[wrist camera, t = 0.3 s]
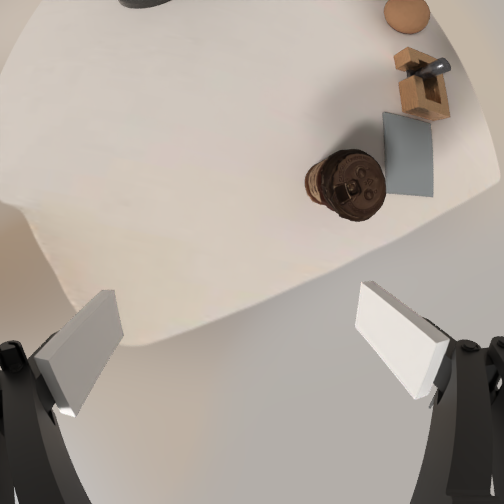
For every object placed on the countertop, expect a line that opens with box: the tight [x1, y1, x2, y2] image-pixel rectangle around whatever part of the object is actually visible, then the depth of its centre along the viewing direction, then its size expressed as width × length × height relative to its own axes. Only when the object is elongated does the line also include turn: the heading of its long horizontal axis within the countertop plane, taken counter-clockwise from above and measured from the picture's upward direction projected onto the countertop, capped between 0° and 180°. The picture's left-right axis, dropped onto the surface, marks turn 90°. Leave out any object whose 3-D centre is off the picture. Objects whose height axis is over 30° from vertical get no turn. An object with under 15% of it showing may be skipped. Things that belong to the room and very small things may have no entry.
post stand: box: [406, 58, 451, 81], centre depth 31 cm, size 3×3×10 cm
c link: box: [394, 47, 450, 121], centre depth 34 cm, size 12×8×5 cm, turn 1°
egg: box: [384, 0, 430, 34], centre depth 27 cm, size 8×8×11 cm
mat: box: [383, 112, 433, 197], centre depth 39 cm, size 14×11×1 cm
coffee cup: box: [305, 149, 386, 222], centre depth 33 cm, size 9×8×13 cm
